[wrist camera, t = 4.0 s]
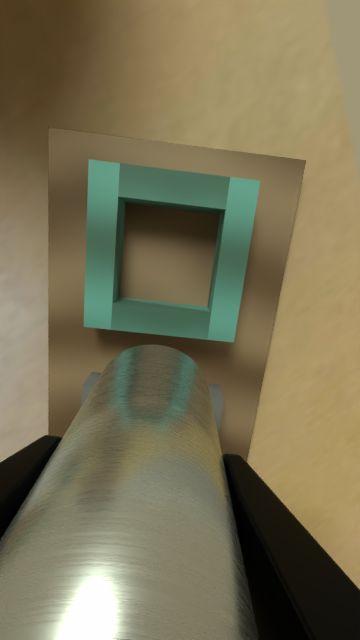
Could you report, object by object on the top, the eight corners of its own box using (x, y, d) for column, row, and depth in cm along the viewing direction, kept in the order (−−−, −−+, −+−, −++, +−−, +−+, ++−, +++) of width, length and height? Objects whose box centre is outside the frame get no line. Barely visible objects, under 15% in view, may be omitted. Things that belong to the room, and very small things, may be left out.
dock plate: (234, 500, 22) (242, 538, 19) (54, 484, 22) (35, 521, 19) (298, 165, 16) (324, 147, 13) (56, 134, 16) (29, 108, 13)
